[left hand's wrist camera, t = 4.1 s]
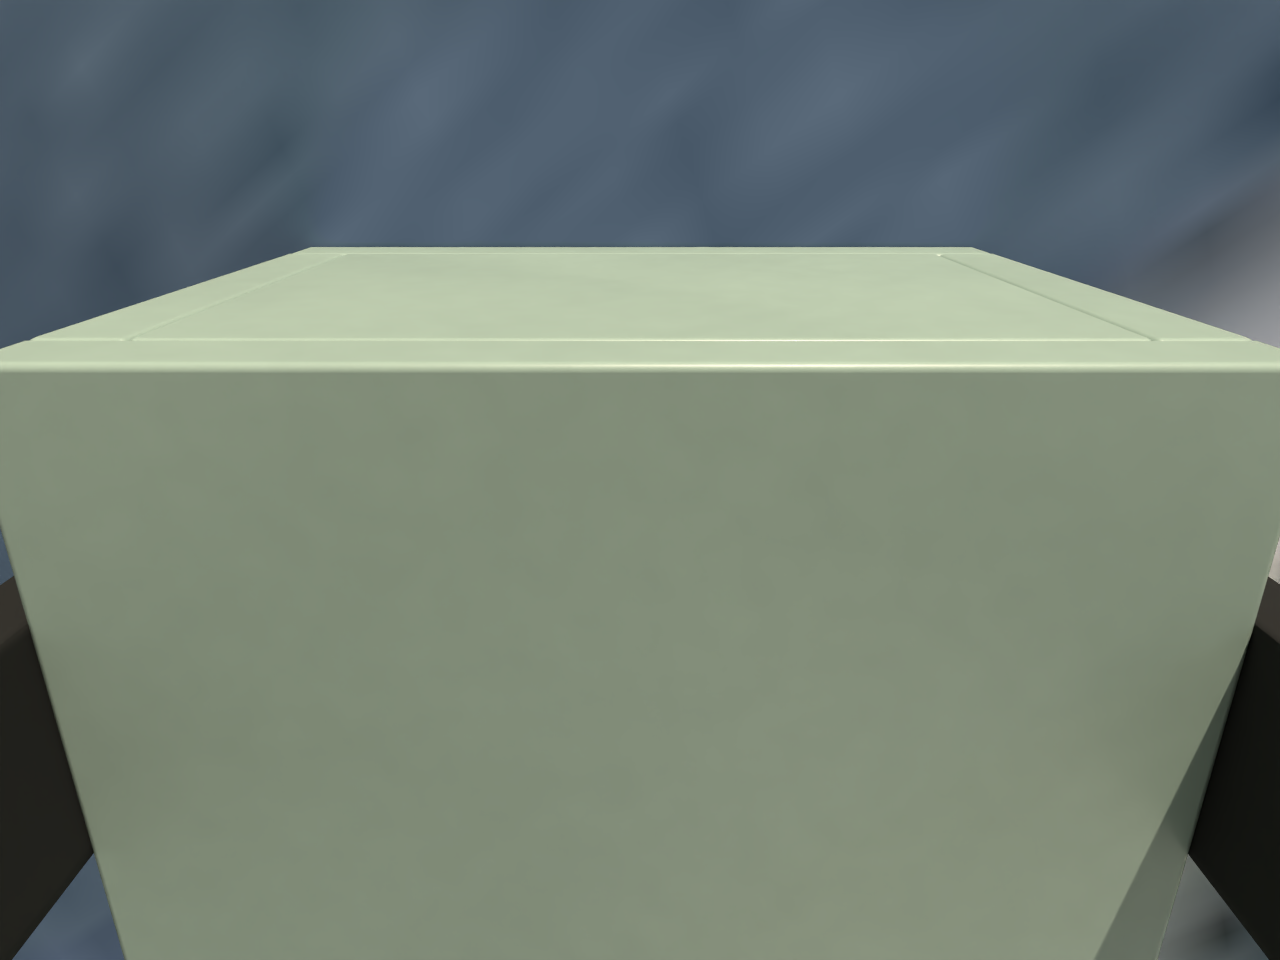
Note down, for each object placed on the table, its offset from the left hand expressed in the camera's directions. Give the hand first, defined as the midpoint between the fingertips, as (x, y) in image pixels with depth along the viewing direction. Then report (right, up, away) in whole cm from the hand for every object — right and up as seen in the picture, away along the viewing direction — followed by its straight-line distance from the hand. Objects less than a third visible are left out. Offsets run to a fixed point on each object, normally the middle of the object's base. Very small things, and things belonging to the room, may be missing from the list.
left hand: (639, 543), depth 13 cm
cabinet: (0, -4, +6) cm, 7 cm away
